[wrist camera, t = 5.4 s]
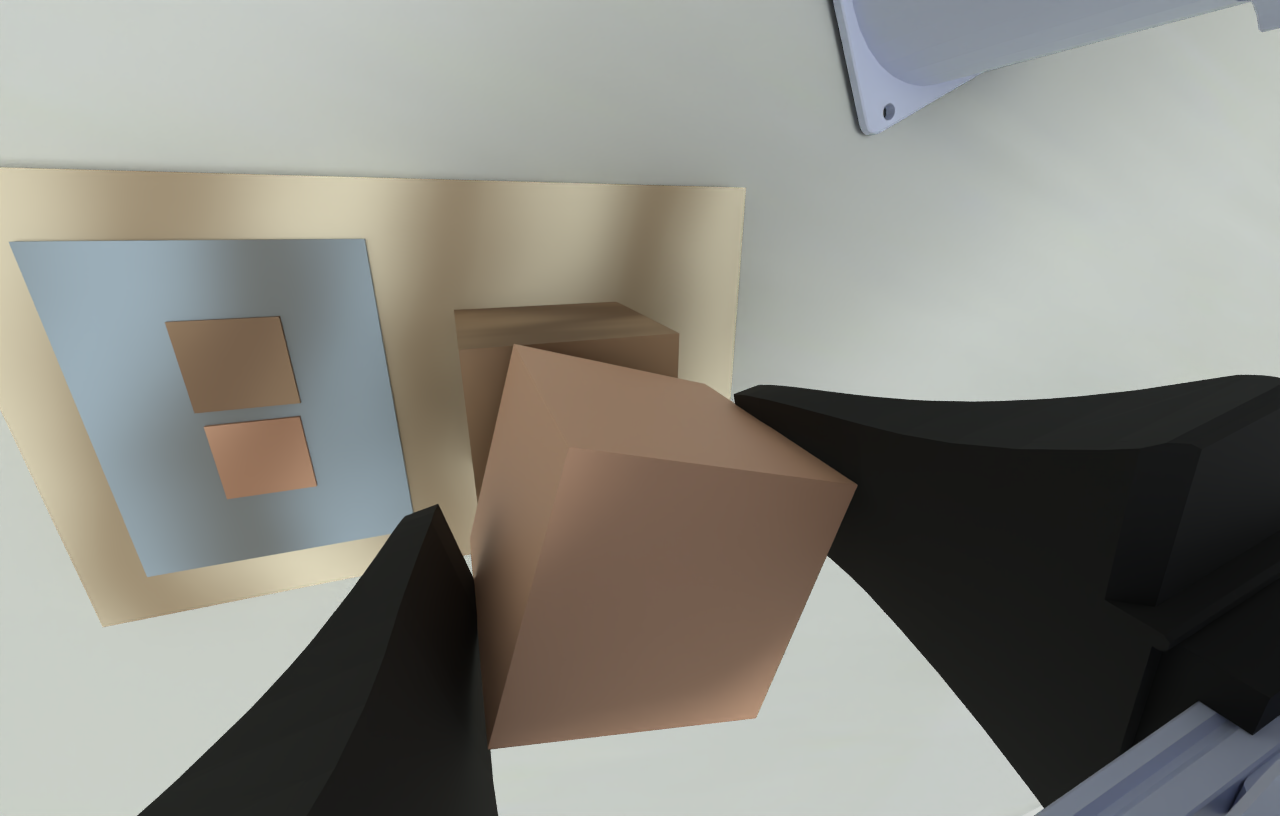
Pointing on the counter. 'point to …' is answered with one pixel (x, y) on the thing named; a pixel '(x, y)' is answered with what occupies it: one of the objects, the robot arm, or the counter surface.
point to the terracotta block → (637, 552)
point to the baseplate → (315, 353)
